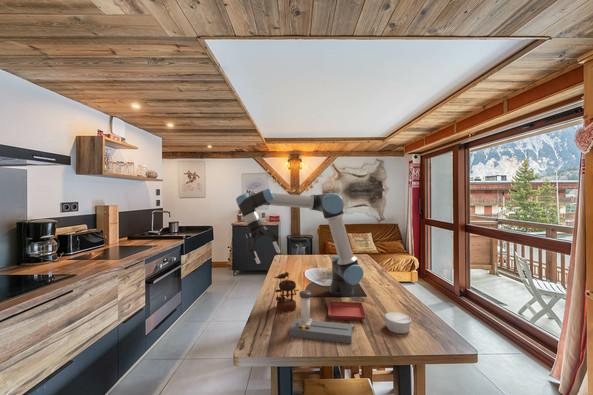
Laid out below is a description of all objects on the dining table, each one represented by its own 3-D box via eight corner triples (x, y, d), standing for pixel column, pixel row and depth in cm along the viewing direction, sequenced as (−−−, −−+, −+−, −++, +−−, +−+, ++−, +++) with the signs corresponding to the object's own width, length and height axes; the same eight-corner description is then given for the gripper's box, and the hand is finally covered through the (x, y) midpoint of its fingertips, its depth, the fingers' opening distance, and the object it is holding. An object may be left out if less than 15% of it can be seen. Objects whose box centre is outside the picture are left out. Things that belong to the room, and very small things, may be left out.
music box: (279, 314, 130) (277, 274, 132) (271, 308, 140) (269, 271, 142) (305, 309, 137) (303, 271, 139) (295, 303, 147) (294, 268, 149)
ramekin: (409, 337, 108) (409, 325, 108) (382, 331, 114) (382, 319, 114) (413, 327, 118) (412, 315, 118) (387, 321, 123) (387, 310, 124)
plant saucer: (328, 321, 124) (328, 314, 124) (328, 306, 142) (328, 300, 142) (366, 323, 121) (366, 316, 121) (362, 308, 139) (362, 302, 139)
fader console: (289, 336, 109) (289, 325, 110) (295, 325, 119) (294, 315, 119) (351, 343, 104) (351, 332, 104) (351, 331, 113) (351, 321, 113)
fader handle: (298, 326, 111) (298, 294, 111) (301, 320, 117) (301, 289, 117) (309, 327, 110) (309, 295, 110) (312, 321, 115) (312, 290, 116)
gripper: (268, 215, 148) (283, 249, 147) (230, 231, 132) (246, 269, 131) (274, 212, 143) (290, 247, 141) (235, 228, 127) (252, 267, 125)
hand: (269, 257), depth 136 cm, fingers open, 13 cm apart
